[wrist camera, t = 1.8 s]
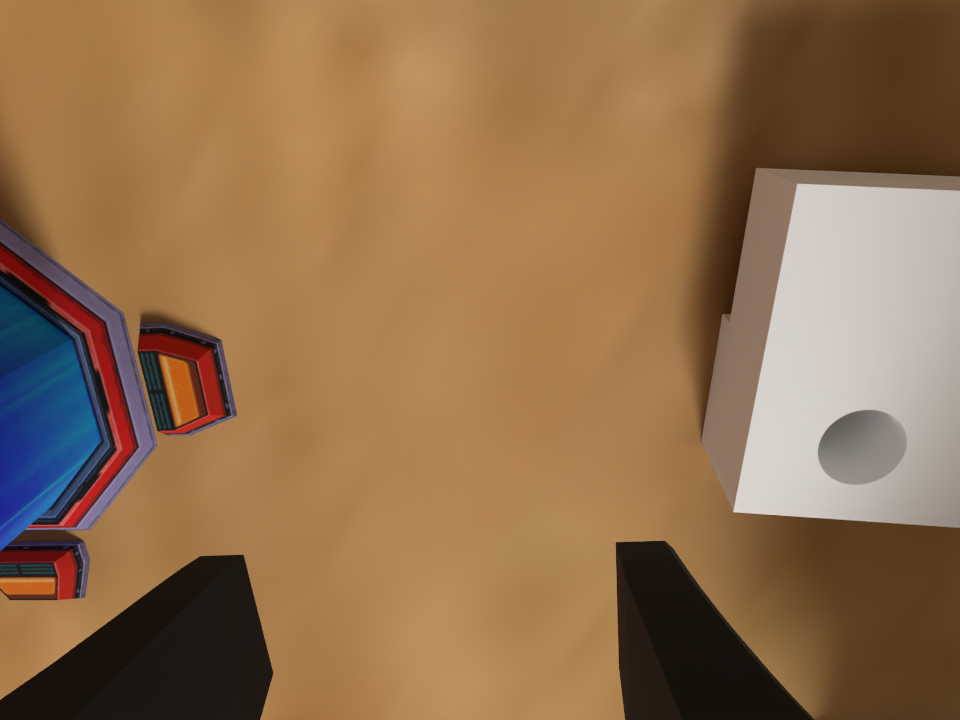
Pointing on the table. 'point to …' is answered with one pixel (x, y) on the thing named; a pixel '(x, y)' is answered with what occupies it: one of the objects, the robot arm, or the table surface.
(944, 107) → the table surface
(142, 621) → the robot arm
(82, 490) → the fantasy tower
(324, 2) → the table surface
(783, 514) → the bracket
